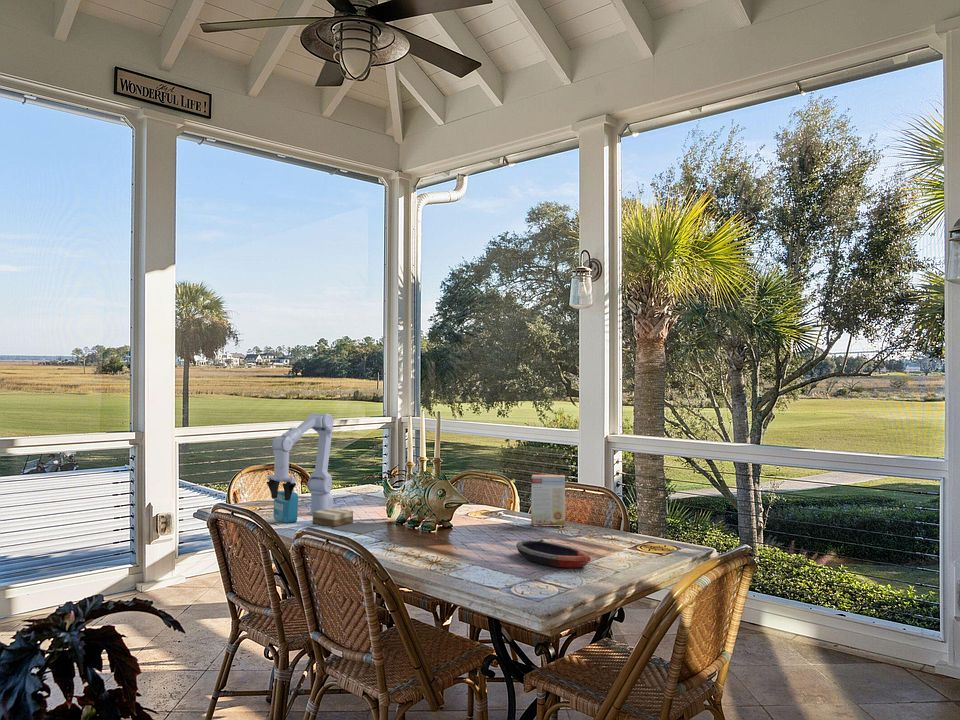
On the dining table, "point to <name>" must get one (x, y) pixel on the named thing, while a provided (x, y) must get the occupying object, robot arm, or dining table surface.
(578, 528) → the dining table surface
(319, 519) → the walnut box
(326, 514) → the cover plate
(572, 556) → the dish
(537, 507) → the cracker box
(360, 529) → the rubber mat
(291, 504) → the data package
